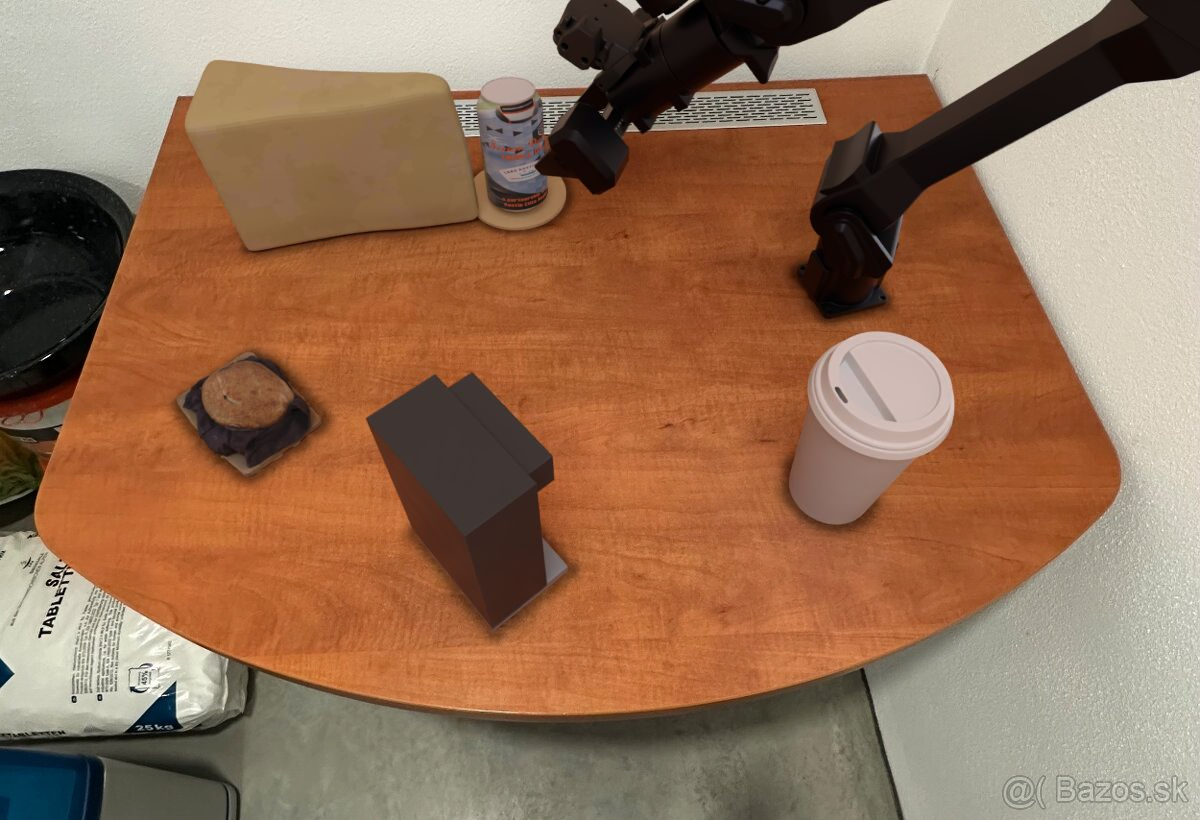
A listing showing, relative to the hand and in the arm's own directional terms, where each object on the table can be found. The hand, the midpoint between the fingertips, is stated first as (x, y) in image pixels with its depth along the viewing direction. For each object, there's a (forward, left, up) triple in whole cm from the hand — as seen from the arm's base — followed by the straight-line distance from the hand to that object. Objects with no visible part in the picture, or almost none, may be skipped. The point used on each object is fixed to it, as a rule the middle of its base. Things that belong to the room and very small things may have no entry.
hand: (558, 138), depth 73 cm
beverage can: (+4, -3, -8) cm, 10 cm away
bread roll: (+32, +16, -9) cm, 36 cm away
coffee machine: (+15, +34, -9) cm, 38 cm away
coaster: (+4, -3, -9) cm, 10 cm away
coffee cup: (-12, +37, -9) cm, 39 cm away
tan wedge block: (+19, -4, -9) cm, 21 cm away
